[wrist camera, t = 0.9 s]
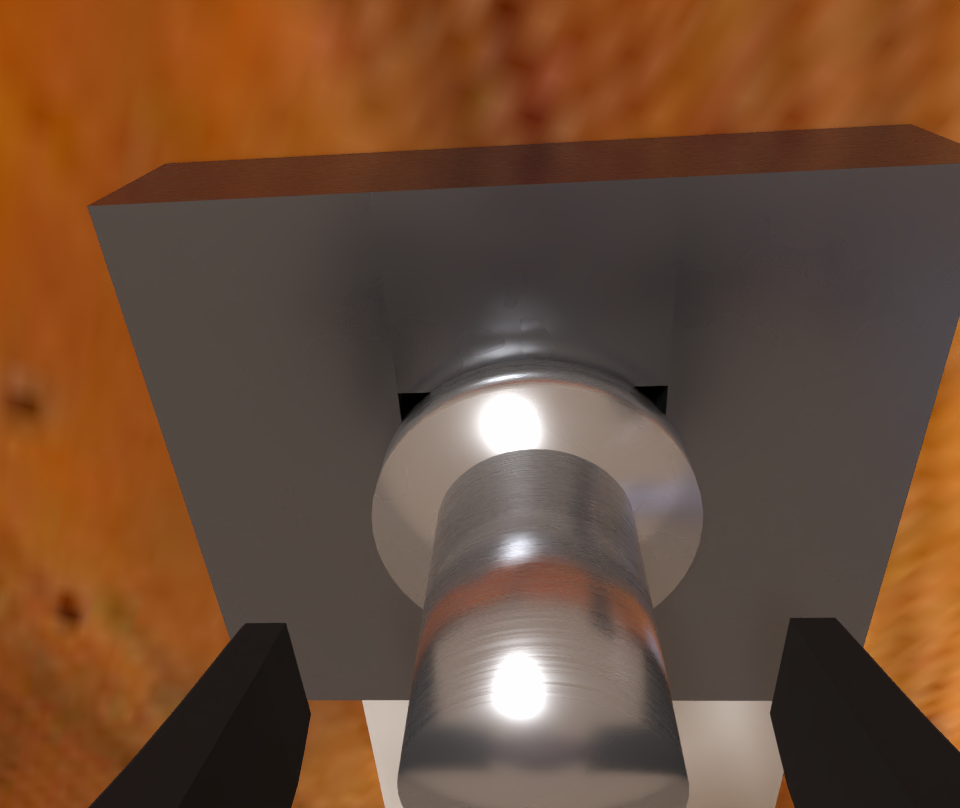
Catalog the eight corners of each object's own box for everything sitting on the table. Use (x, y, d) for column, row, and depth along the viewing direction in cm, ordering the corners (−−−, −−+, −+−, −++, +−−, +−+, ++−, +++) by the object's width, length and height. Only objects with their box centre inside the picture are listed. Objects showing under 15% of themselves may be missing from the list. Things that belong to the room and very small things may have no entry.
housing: (910, 124, 13) (1003, 161, 11) (804, 603, 19) (847, 700, 17) (165, 163, 14) (87, 206, 12) (284, 607, 20) (250, 699, 18)
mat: (790, 668, 21) (801, 698, 20) (749, 847, 25) (758, 878, 24) (368, 669, 22) (361, 698, 21) (402, 842, 26) (399, 871, 25)
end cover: (678, 295, 15) (834, 620, 7) (659, 527, 18) (757, 922, 10) (383, 306, 15) (253, 624, 8) (414, 530, 18) (341, 912, 11)
